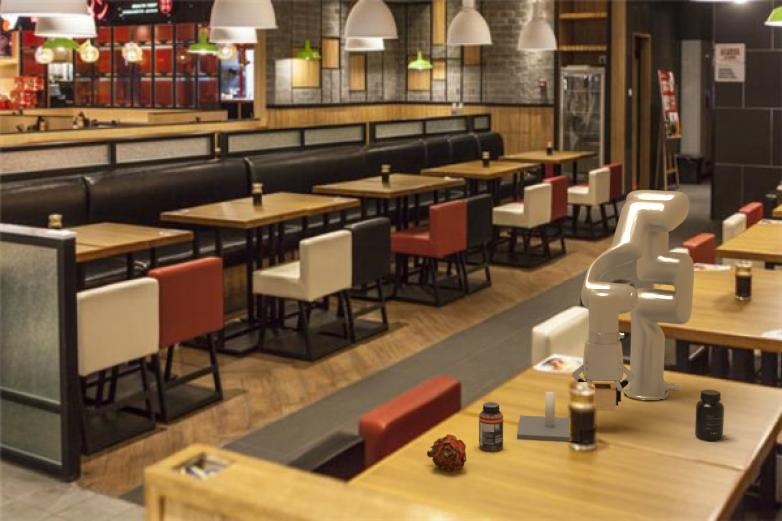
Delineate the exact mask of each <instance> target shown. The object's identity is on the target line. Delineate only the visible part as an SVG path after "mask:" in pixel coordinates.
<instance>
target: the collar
mask: <svg viewBox="0 0 782 521" xmlns="http://www.w3.org/2000/svg"><path fill="white" fill-rule="evenodd" d="M591 384H593V385H594V386H595V388H596V389H595V404H596V411H598V412H599V411H601V412H616V411H617V406H616V385H615V383H614V382H607V381H592V382H591Z"/></svg>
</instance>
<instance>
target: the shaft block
mask: <svg viewBox="0 0 782 521" xmlns="http://www.w3.org/2000/svg"><path fill="white" fill-rule="evenodd" d="M544 403H545V409H544V411H545V412H544V414H545V415H544V416H542V415H541V416H538V415H520V416H519V419H518V420H519V421H518V427H517V433H516V434H517V435H516V438H517V440H528V441H531V440H532V441H546V442H547V441H548V442H549V441H550V442H568V443H570V442H569V440H570V432H569V418H570V417H558V416H555V415H556V413H555V410H556V409H555V408H556V407H555V405H556V392H555V391H551V390H550V391H548V390H547V391H546V392H545V402H544Z"/></svg>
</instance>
